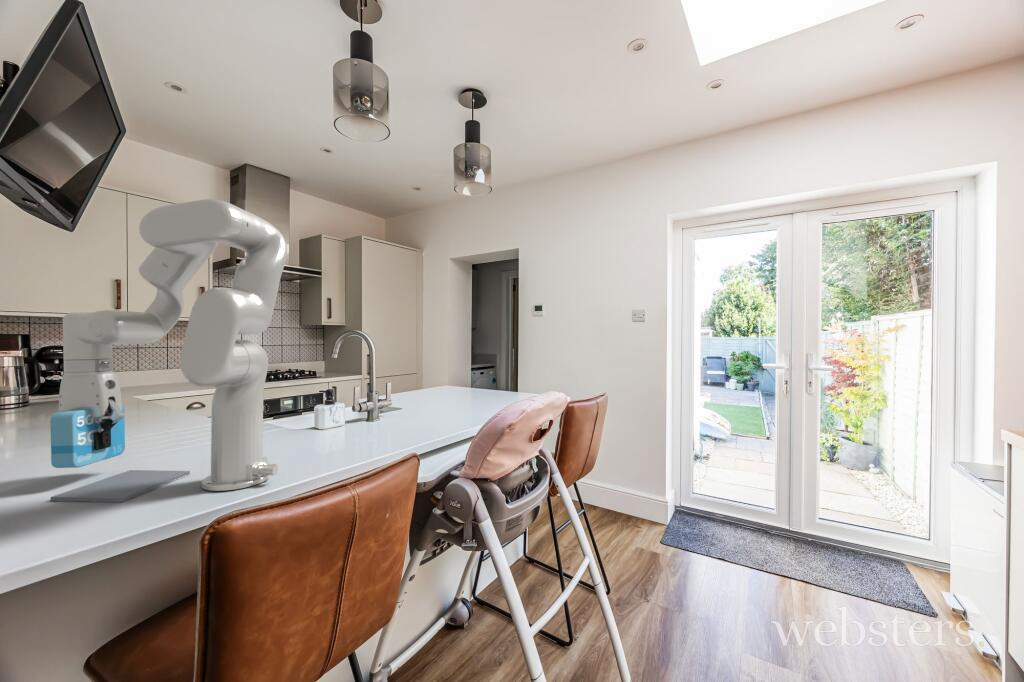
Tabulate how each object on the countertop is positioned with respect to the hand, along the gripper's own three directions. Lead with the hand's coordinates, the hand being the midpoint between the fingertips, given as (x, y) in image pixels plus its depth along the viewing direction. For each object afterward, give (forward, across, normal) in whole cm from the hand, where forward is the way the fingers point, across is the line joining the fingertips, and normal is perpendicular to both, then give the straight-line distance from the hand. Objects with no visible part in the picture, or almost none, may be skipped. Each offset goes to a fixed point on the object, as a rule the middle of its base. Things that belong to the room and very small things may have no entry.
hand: (90, 447), depth 89 cm
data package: (+3, 0, 0) cm, 3 cm away
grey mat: (+7, -12, +4) cm, 15 cm away
